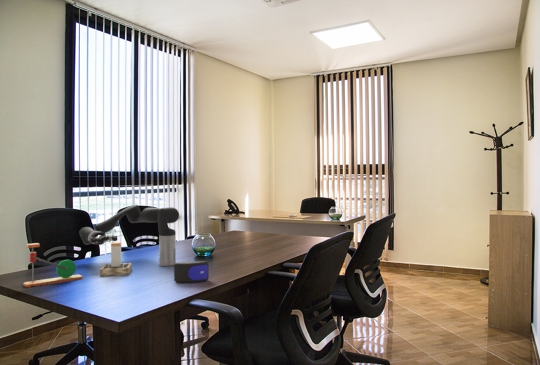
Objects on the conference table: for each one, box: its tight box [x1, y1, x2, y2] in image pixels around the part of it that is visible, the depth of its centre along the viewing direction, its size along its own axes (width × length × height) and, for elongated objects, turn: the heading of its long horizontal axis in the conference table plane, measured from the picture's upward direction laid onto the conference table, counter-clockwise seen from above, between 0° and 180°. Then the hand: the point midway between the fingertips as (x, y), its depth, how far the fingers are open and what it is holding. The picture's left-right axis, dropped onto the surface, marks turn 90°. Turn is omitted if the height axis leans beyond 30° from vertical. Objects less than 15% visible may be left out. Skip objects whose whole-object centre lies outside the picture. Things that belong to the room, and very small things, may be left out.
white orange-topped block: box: [110, 241, 122, 267], centre depth 215 cm, size 4×4×15 cm
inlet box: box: [99, 262, 133, 277], centre depth 215 cm, size 14×14×4 cm
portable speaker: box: [173, 260, 210, 284], centre depth 193 cm, size 16×5×9 cm, turn 103°
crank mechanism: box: [23, 242, 84, 288], centre depth 195 cm, size 25×7×19 cm, turn 134°
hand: (108, 240), depth 223 cm, fingers open, 8 cm apart
